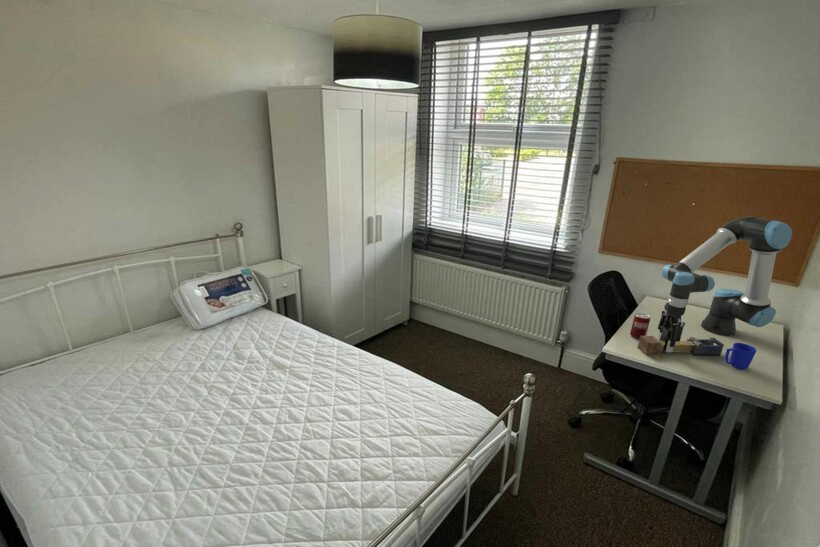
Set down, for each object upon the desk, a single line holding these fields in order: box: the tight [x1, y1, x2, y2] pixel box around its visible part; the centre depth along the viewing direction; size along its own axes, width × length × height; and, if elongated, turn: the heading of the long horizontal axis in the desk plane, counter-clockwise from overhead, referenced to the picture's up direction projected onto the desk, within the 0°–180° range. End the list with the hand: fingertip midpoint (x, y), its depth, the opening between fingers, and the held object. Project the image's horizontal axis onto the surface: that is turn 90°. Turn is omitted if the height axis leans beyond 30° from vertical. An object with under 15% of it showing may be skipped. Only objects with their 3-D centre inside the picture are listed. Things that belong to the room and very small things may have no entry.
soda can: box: [629, 312, 651, 340], centre depth 205 cm, size 7×7×12 cm
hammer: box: [660, 327, 697, 353], centre depth 191 cm, size 24×4×11 cm, turn 91°
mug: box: [724, 342, 757, 370], centre depth 181 cm, size 8×12×10 cm
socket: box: [637, 335, 662, 356], centre depth 192 cm, size 6×7×7 cm
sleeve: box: [686, 336, 725, 357], centre depth 193 cm, size 13×7×6 cm, turn 91°
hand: (664, 348), depth 193 cm, fingers open, 6 cm apart
